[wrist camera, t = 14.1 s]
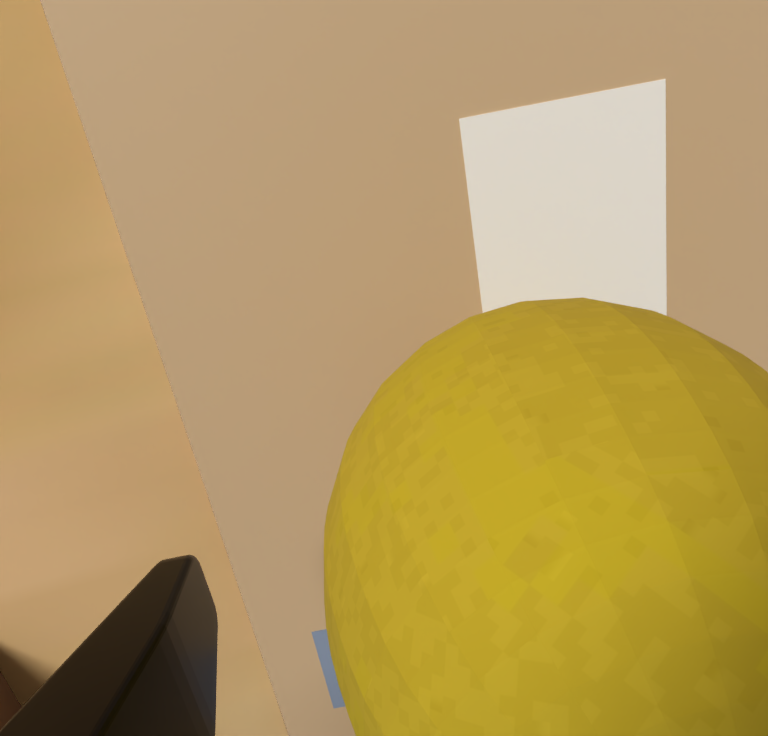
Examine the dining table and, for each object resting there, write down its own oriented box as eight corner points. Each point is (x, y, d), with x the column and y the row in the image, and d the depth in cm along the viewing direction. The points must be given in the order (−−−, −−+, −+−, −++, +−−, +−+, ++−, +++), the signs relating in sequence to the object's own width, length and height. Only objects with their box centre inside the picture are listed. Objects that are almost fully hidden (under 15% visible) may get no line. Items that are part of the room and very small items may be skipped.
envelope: (777, 642, 15) (785, 654, 14) (294, 739, 15) (294, 753, 14) (846, -196, 9) (864, -204, 9) (34, -41, 9) (25, -43, 8)
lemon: (738, 303, 11) (1520, 819, 4) (564, 573, 13) (863, 1245, 6) (409, 162, 10) (648, 530, 3) (272, 485, 12) (192, 1201, 5)
